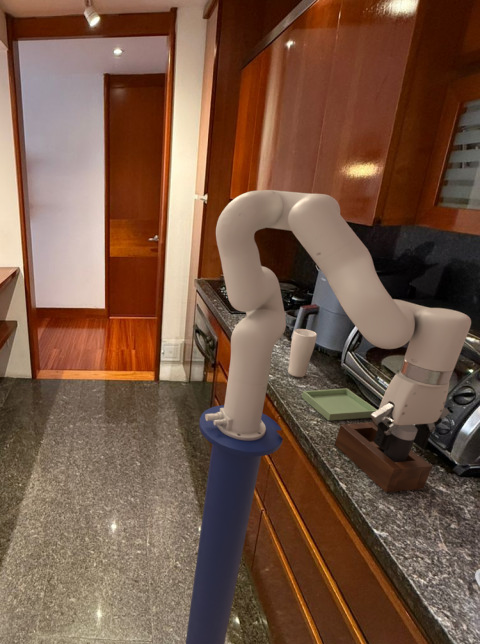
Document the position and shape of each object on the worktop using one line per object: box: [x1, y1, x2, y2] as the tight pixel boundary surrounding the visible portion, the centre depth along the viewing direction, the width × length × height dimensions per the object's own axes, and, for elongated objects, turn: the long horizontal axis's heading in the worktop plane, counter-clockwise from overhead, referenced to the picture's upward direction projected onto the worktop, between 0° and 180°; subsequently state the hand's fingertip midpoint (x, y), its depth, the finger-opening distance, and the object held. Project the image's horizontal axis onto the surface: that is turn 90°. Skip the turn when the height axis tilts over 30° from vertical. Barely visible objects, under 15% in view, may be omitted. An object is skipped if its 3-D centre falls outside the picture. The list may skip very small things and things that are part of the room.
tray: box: [301, 388, 378, 422], centre depth 110 cm, size 14×12×2 cm
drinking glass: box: [287, 328, 318, 378], centre depth 126 cm, size 7×7×15 cm
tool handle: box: [384, 425, 418, 462], centre depth 83 cm, size 4×4×13 cm
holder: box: [334, 421, 433, 493], centre depth 87 cm, size 9×16×6 cm, turn 7°
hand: (399, 444), depth 82 cm, fingers open, 7 cm apart
